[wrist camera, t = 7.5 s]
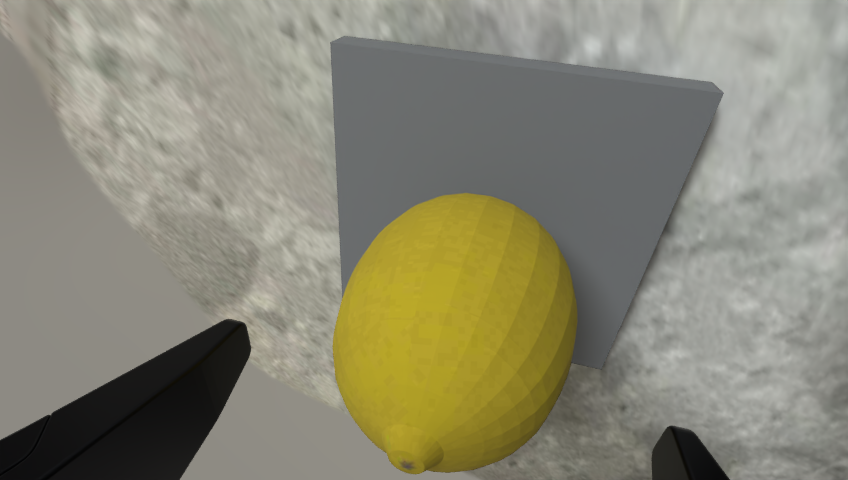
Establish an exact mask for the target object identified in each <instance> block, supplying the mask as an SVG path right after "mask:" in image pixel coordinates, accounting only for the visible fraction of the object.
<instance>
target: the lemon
mask: <svg viewBox="0 0 848 480" xmlns="http://www.w3.org/2000/svg"><path fill="white" fill-rule="evenodd" d="M576 330H577V304H576V298H575V293H574V288H573V283H572V278H571V274H570V270H569V267H568V265H567V263H566V260H565V258H564V257H563V255H562V253H561V251H560V249H559V247H558V246H557V244H556V242H555V240H554V239H553V237H552V236H551V235H550V234H549V233H548V232H547V231H546V229H545V228H544V227H543V226H542V225H541V224H540V223H539V222H538V221H537V220H536V219H535V218H534V217H532V216H531V215H529V214H528V213H526V212H525V211H523V210H521V209H520V208H518V207H517V206H515V205H514V204H511V203H509V202H506V201H503V200H500V199H498V198H495V197H492V196H486V195H478V194H471V193H461V194H451V195H443V196H439V197H436V198H434V199H431V200H428V201H426V202H423V203H420V204H417V205H415V206H414V207H412V208H410V209H409V210H407V211H406V212H405V213H403V214H402V215H401V216H399V217H398V218H396V219H395V220H394V221H392V222H391V223H390V224H389V225H387V226H386V227H385V228H384V229H383V230H382V231H381V232H380V233H379V234H378V235H377V237H376V238H375V239H374V240H373V242H372V243H371V245H370V246H369V247H368V249H367V250H366V252H365V253H364V255H363V256H362V257H361V259H360V260H359V262H358V264H357V265H356V267H355V269H354V271H353V273H352V275H351V277H350V279H349V281H348V284H347V287H346V289H345V292H344V295H343V299H342V302H341V306H340V310H339V313H338V317H337V321H336V326H335V331H334V337H333V357H334V367H335V377H336V381H337V384H338V387H339V390H340V393H341V395H342V398H343V400H344V402H345V405H346V407H347V409H348V411H349V413H350V414H351V416H352V418H353V419H354V421H355V422H356V423H357V424H358V426H359V427H360V429H361V430H362V431H363V432H364V434H365V435H366V436H367V437H368V438H369V439H370V440H371V441H372V442H373V443H374V444H375V445H376V446H377V447H378V448H380V449H381V450H383V451H384V452H386V453H387V455H388V458H389V461H390V462H391V463H392V464H393V465H394V466H395V467H396V468H397V469H399V470H401V471H404V472H406V473H410V474H420V473H422V472H424V471H426V470H429V471H433V472H446V473H449V472H459V471H468V470H474V469H477V468H480V467H483V466H486V465H489V464H492V463H495V462H497V461H500V460H502V459H504V458H505V457H507V456H509V455H511V454H512V453H514V452H515V451H516V450H517V449H519V448H520V447H521V446H523V445H524V444H525V443H526V442H527V441H528V440H530V439H531V438H532V437H533V436H534V435H535V434H536V433H537V431H538V430H539V429H540V427H541V426H542V424H543V423H544V421H545V420H546V418H547V416H548V415H549V413H550V411H551V410H552V408H553V406H554V405H555V403H556V401H557V399H558V397H559V395H560V393H561V391H562V388H563V386H564V384H565V381H566V378H567V375H568V372H569V369H570V365H571V360H572V356H573V350H574V343H575V337H576Z"/></svg>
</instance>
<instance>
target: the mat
mask: <svg viewBox="0 0 848 480" xmlns="http://www.w3.org/2000/svg"><path fill="white" fill-rule="evenodd" d="M330 44H331V65H332V86H333V107H334V129H335V150H336V171H337V192H338V213H339V235H340V256H341V277H342V298H343V295H344V292H345V289H346V287H347V284H348V281H349V279H350V277H351V275H352V273H353V271H354V269H355V267H356V265H357V264H358V262H359V260H360V259H361V257H362V256H363V255H364V253H365V252H366V250H367V249H368V247H369V246H370V245H371V243H372V242H373V240H374V239H375V238H376V237H377V235H378V234H379V233H380V232H381V231H382V230H383V229H384V228H385V227H386V226H387V225H389V224H390V223H391V222H392V221H394V220H395V219H396V218H398V217H399V216H401V215H402V214H403V213H405V212H406V211H407V210H409V209H410V208H412V207H414V206H415V205H417V204H420V203H423V202H426V201H428V200H431V199H434V198H436V197H439V196H443V195H451V194H461V193H471V194H478V195H486V196H492V197H495V198H498V199H500V200H503V201H506V202H509V203H511V204H514V205H515V206H517V207H518V208H520V209H521V210H523V211H525V212H526V213H528V214H529V215H531V216H532V217H534V218H535V219H536V220H537V221H538V222H539V223H540V224H541V225H542V226H543V227H544V228H545V229H546V231H547V232H548V233H549V234H550V235H551V236H552V237H553V239H554V240H555V242H556V244H557V246H558V247H559V249H560V251H561V253H562V255H563V257H564V258H565V260H566V263H567V265H568V267H569V270H570V274H571V278H572V283H573V288H574V293H575V298H576V304H577V330H576V337H575V343H574V350H573V356H572V360H571V363H575V364H579V365H583V366H588V367H592V368H596V369H602V367H603V365H604V362H605V360H606V358H607V356H608V353H609V351H610V349H611V347H612V344H613V342H614V340H615V338H616V335H617V333H618V331H619V329H620V326H621V324H622V322H623V320H624V317H625V315H626V313H627V311H628V308H629V306H630V304H631V301H632V299H633V297H634V295H635V292H636V290H637V288H638V286H639V283H640V281H641V279H642V277H643V274H644V272H645V270H646V268H647V265H648V263H649V261H650V259H651V256H652V254H653V252H654V250H655V247H656V245H657V243H658V240H659V238H660V236H661V234H662V231H663V229H664V227H665V225H666V222H667V220H668V218H669V216H670V213H671V211H672V209H673V207H674V204H675V202H676V200H677V198H678V195H679V193H680V191H681V189H682V186H683V184H684V182H685V179H686V177H687V175H688V173H689V170H690V168H691V166H692V164H693V161H694V159H695V157H696V155H697V152H698V150H699V148H700V146H701V143H702V141H703V139H704V137H705V134H706V132H707V130H708V128H709V125H710V123H711V121H712V118H713V116H714V114H715V112H716V109H717V107H718V105H719V103H720V100H721V98H722V96H723V94H724V93H723V92H722V91H721V90H720V89H719V88H718V87H717V86H716V85H714V84H713V83H712V82H706V81H698V80H690V79H682V78H674V77H666V76H658V75H650V74H642V73H634V72H626V71H618V70H610V69H602V68H594V67H586V66H578V65H571V64H563V63H555V62H547V61H539V60H531V59H523V58H515V57H507V56H499V55H491V54H483V53H475V52H467V51H459V50H451V49H443V48H435V47H428V46H420V45H412V44H404V43H396V42H388V41H380V40H372V39H364V38H356V37H348V36H343V37H341V38H339V39H337V40H335V41H332V42H330Z"/></svg>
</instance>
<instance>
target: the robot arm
mask: <svg viewBox="0 0 848 480" xmlns="http://www.w3.org/2000/svg"><path fill="white" fill-rule="evenodd" d="M250 352H251V345H250V340H249V335H248V331H247V327H246V325H245V323H244V322H241V321H236V320H232V319H226V320H223V321H221V322H219V323H218V324H216V325H214V326H212V327H210V328H208V329H206V330H205V331H203V332H201V333H199V334H197V335H195V336H193V337H192V338H190V339H188V340H186V341H184V342H182V343H181V344H179V345H177V346H175V347H173V348H171V349H169V350H168V351H166V352H164V353H162V354H160V355H158V356H156V357H155V358H153V359H151V360H149V361H147V362H145V363H143V364H142V365H140V366H138V367H136V368H134V369H132V370H130V371H129V372H127V373H125V374H123V375H121V376H119V377H117V378H116V379H114V380H112V381H110V382H108V383H106V384H104V385H103V386H101V387H99V388H97V389H95V390H93V391H91V392H90V393H88V394H86V395H84V396H82V397H80V398H78V399H77V400H75V401H73V402H71V403H69V404H67V405H65V406H64V407H62V408H60V409H58V410H56V411H54V412H53V413H52V414H51V415H47V416H45V417H43V418H41V419H39V420H37V421H36V422H34V423H32V424H30V425H28V426H26V427H25V428H22V429H20V430H18V431H16V432H15V433H13V434H11V435H9V436H7V437H5V438H3V439H1V440H0V480H180V478H181V477H182V475H183V473H184V472H185V470H186V469H187V467H188V466H189V464H190V462H191V461H192V459H193V458H194V456H195V454H196V453H197V451H198V450H199V448H200V447H201V445H202V443H203V442H204V440H205V439H206V437H207V436H208V434H209V432H210V431H211V429H212V428H213V426H214V424H215V423H216V421H217V419H218V417H219V415H220V414H221V412H222V410H223V408H224V406H225V404H226V402H227V400H228V398H229V396H230V394H231V392H232V390H233V388H234V386H235V384H236V382H237V380H238V378H239V376H240V374H241V372H242V370H243V368H244V366H245V364H246V362H247V360H248V358H249V356H250ZM652 480H730V479H729V478H728V476H727V475H726V474H725V472H724V471H723V470H722V468H721V467H720V466H719V464H718V463H717V462H716V460H715V459H714V458H713V456H712V455H711V454H710V452H709V451H708V450H707V448H706V447H705V446H704V444H703V443H702V442H701V440H700V439H699V438H698V436H697V435H696V434H695V433H694V432H693V431H691V430H689V429H685V428H681V427H676V426H669V427H667V428H666V429H665V431H664V433H663V434H662V436H661V437H660V439H659V441H658V442H657V444H656V445H655V447H654V449H653V452H652Z"/></svg>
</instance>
